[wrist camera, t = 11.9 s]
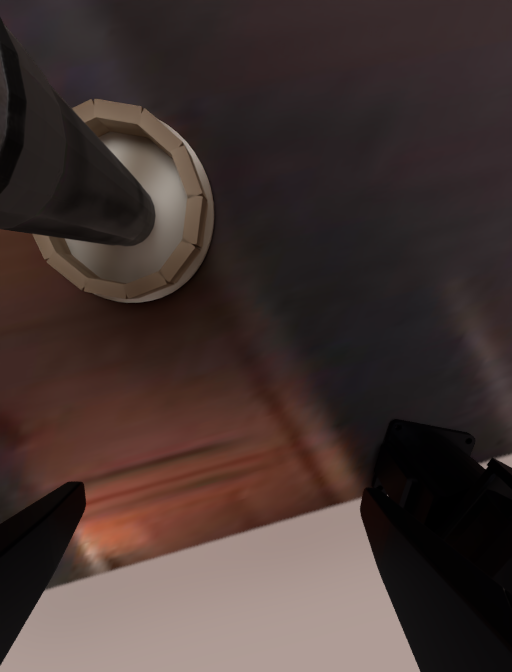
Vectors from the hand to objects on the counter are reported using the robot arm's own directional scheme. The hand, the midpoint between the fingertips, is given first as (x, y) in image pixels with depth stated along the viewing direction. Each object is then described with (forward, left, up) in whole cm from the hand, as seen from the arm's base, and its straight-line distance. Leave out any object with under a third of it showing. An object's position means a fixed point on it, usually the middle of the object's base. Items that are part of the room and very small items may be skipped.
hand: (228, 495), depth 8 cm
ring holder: (+11, -10, -13) cm, 20 cm away
